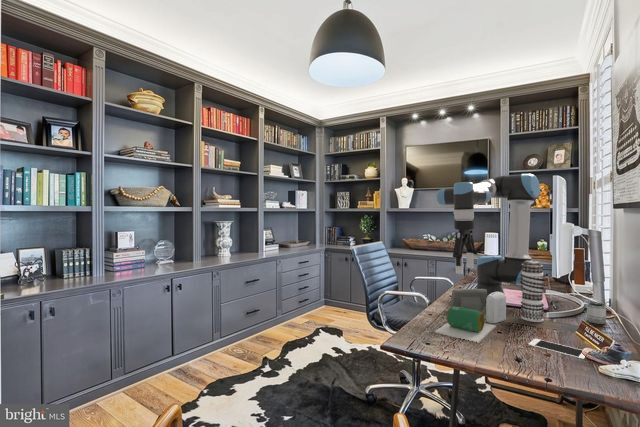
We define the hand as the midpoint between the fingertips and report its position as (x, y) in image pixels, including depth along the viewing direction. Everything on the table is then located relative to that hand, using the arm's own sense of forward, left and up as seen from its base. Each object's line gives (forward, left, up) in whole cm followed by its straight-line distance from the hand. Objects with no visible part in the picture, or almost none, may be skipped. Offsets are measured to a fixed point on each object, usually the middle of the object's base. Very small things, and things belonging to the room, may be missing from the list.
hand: (464, 270), depth 144 cm
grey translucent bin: (-20, -5, -23) cm, 31 cm away
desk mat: (+6, +3, -22) cm, 23 cm away
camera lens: (-39, +41, -23) cm, 61 cm away
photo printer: (-13, +9, -23) cm, 27 cm away
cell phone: (+4, +33, -23) cm, 40 cm away
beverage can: (+7, -4, -18) cm, 19 cm away
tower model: (-26, +20, -23) cm, 39 cm away
